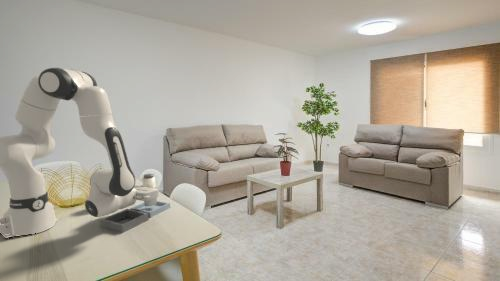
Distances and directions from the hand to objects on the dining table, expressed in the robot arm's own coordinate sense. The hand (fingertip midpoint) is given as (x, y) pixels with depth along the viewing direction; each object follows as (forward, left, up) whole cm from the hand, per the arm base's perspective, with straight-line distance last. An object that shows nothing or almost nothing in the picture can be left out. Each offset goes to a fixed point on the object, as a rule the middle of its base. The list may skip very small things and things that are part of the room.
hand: (150, 187), depth 128 cm
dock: (+1, -16, -11) cm, 19 cm away
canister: (0, -1, -8) cm, 8 cm away
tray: (0, -1, -11) cm, 11 cm away
